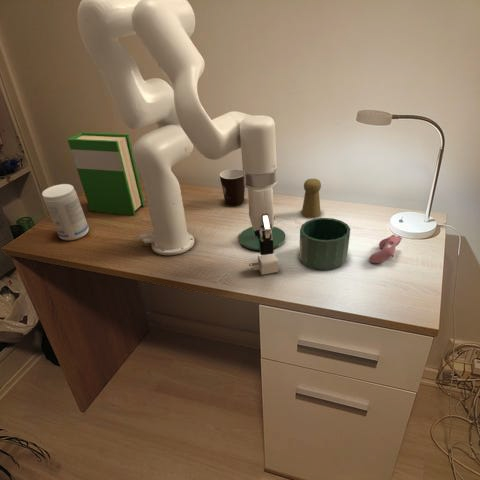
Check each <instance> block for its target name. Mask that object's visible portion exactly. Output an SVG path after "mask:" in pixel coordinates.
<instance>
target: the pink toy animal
mask: <svg viewBox="0 0 480 480" xmlns="http://www.w3.org/2000/svg"><path fill="white" fill-rule="evenodd" d="M402 240H403V237H402V236H400V235H398V234H396V233H394V234H392V235H390V236H388V237H386V238H384V239H382V240H380V241H379V242H378V246H379V248H381V250H378V251H377V252H375V253H372V254H370V256H369V258H368V259H369V260H368V261H369V262H370V263H373V264H378V263H382V262H384V261H387V260H388V259H389V258H393V257H395V254H396V253H395V251H396V247H398V246H399V244H400V243H401V241H402Z"/></svg>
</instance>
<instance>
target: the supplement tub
mask: <svg viewBox="0 0 480 480" xmlns="http://www.w3.org/2000/svg"><path fill="white" fill-rule="evenodd" d="M41 196H42V199H43V202H44V205H45V207H46V209H47V212H48V215H49V217H50V220H51V221H52V223H53V226H54V229H55V231H56V233H57V235H58V237H59V239H61V240H63V241H76V240H78V239H81V238H83V237H85V236H86V235H87V234H88V233H89V231H90V227H89V224H88V221H87V219H86V216H85V213H84V210H83V208H82V205H81V202H80V198H79V196H78V193H77V191H76V190H75V187H74V186H73V184H70V183H69V184H68V183H61V184H55V185H52V186H50V187H47V188H46V189H44V190H43V191H42V193H41Z"/></svg>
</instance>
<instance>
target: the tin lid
mask: <svg viewBox="0 0 480 480" xmlns="http://www.w3.org/2000/svg"><path fill="white" fill-rule="evenodd" d="M271 230H272V238H273V249H275V248H279V247H280V246H281V245H283V244H284V243H285V241H286V232H285V231H284V230H283V229H281V228H279V227H277V226H274V227H273V228H272V229H271ZM259 240H260V236H255V231H254V230H253V227H252V226H250V227H248V228H246V229H244V230H242V232H241V233H239V236H238V242H239V243H240V245H241V246H243V247H244V248H247V249H249V250H254V251H260V243H259Z"/></svg>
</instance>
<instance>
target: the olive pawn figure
mask: <svg viewBox="0 0 480 480" xmlns="http://www.w3.org/2000/svg"><path fill="white" fill-rule="evenodd" d="M321 188H322V183H321V180H320V179H317V178H307V179H306V180H305V181H304V183H303V190H304V198H303V203H302V208H301V216H302V217H304V218H306V219H317V218H320V216H321V214H322V213H321V201H320V190H321Z"/></svg>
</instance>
